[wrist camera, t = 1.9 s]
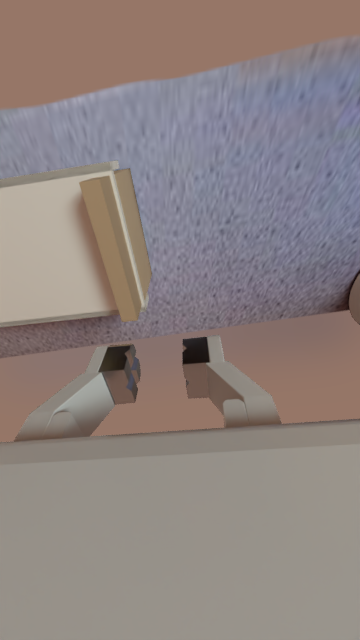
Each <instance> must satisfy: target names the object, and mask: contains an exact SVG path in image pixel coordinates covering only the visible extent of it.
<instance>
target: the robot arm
mask: <svg viewBox="0 0 360 640" xmlns="http://www.w3.org/2000/svg"><path fill="white" fill-rule="evenodd" d="M349 309H350V312H351V315H352V317H353V318H354V320H355V321H356V322H357V323H358V324H359V325H360V274H359V275H358V277H357V279H356V280H355V282H354V284H353V287H352V289H351V292H350V297H349ZM183 350H184V351H183V371H184V377H185V379H186V388H187V394H188V398H206V397H209V398H210V399H211V401H212V402H213V403H214V404H215V406H216V407H217V408H218V409H219V411H220V412H221V413H222V414H223V415H224V428H213V429H198V430H182V431H168V432H152V433H138V434H123V435H106V436H92V437H90V435H91V434H92V433H93V431H94V430H95V429H96V428H97V427H98V426H99V424H100V423H101V422H102V421H103V420H104V418H105V417H106V416H107V415H108V414H109V412H110V411H111V410H112V409H113V408H114V406H115V405H116V404H125V403H135V401H136V395H137V391H138V388H137V385H136V384H137V383H138V382H139V381H140V363H139V360H138V359H137V358H136V357H135V353H136V350H135V347H134V345H133V344H123V345H110V346H99V347H97V348H96V349H95V351H94V354H93V356H92V358H91V360H90V362H89V365H88V367H87V369H86V371H85V373H84V374H80V375H79V376H78V377H77V378H75V379H74V380H73V381H71V382H70V383H69V384H68V385H66V386H65V387H64V388H62V389H61V390H60V391H58V392H57V393H56V394H55V395H53V396H52V397H51V398H49V399H48V400H47V401H46V402H44V403H43V404H42V405H41V406H39V407H38V408H37V409H35V410H34V411H33V412H31V413H30V414H29V416H28V418H27V420H26V421H25V423H24V425H23V426H22V428H21V430H20V432H19V433H18V435H17V436H16V438H15V440H14V442H1V443H0V640H360V419H349V420H334V421H319V422H304V423H289V424H282V423H281V421H280V418H279V415H278V412H277V409H276V406H275V404H274V401H273V398H272V396H271V395H270V394H269V393H268V392H266V391H265V390H264V389H263V388H261V387H260V386H259V385H257V384H256V383H255V382H254V381H253V380H251V379H250V378H249V377H248V376H246V375H245V374H244V373H242V372H241V371H240V370H239V369H237V368H236V367H235V366H234V365H233V364H231V363H230V362H229V361H225V360H224V355H223V350H222V345H221V340H220V336H219V335H213V336H207V337H200V338H190V339H183Z"/></svg>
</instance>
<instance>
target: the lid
mask: <svg viewBox="0 0 360 640" xmlns="http://www.w3.org/2000/svg"><path fill="white" fill-rule="evenodd" d="M118 168H119V164H118V160H117V161H110V162H104V163H98V164H92V165H85V166H79V167H73V168H67V169H61V170H54V171H48V172H42V173H36V174H29V175H23V176H17V177H11V178H4V179H0V327H8V326H17V325H26V324H35V323H45V322H54V321H63V320H72V319H81V318H91V317H100V316H109V315H118V314H120V317H121V320H122V322H126V321H136V320H138V316H139V313H140V312H146V309H147V304H148V300H149V296H148V293H147V295H146V299H145V300H144V296H143V292H142V288H141V284H140V279H139V275H138V271H137V267H136V263H135V259H134V254H133V250H132V246H131V242H130V238H129V233H128V229H127V225H126V221H125V217H124V213H123V208H122V204H121V200H120V196H119V192H118V188H117V183H116V179H115V175H114V171H113V170H115V169H118Z"/></svg>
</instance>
